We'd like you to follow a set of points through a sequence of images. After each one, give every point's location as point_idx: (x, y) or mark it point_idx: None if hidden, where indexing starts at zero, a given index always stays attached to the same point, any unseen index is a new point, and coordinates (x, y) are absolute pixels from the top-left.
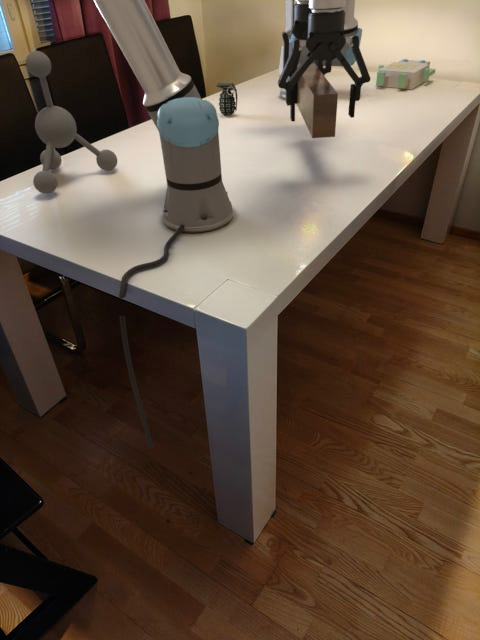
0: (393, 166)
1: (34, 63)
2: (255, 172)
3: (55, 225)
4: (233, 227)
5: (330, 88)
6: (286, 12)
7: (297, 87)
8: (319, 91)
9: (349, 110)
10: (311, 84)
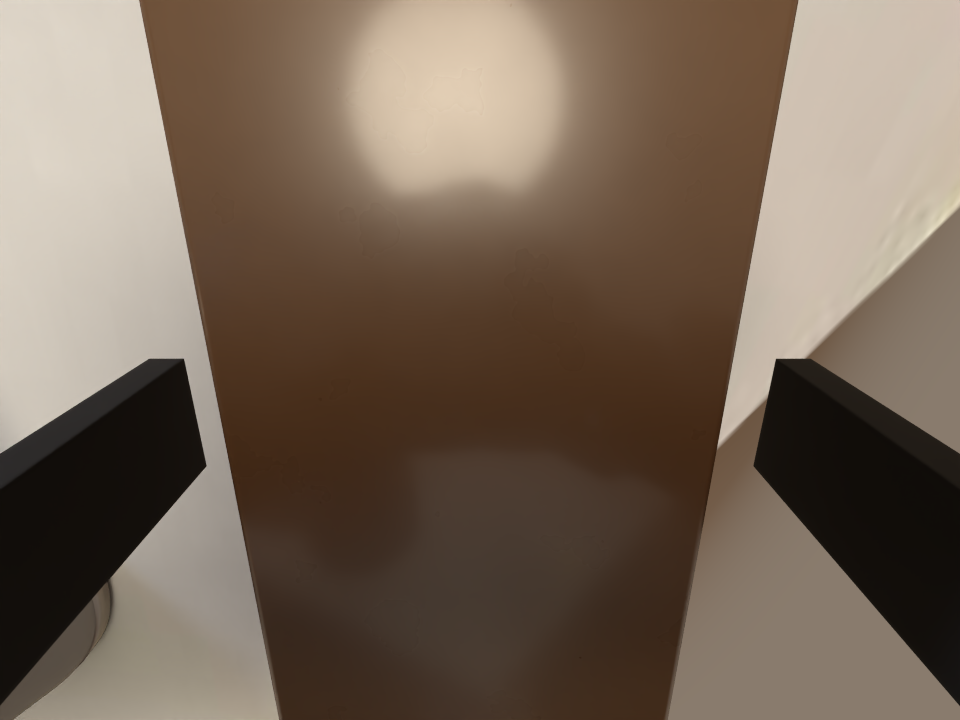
0: (931, 162)
1: None
2: (118, 127)
3: None
4: (132, 648)
5: (633, 578)
6: None
7: None
8: (402, 702)
9: (795, 414)
10: (269, 138)
